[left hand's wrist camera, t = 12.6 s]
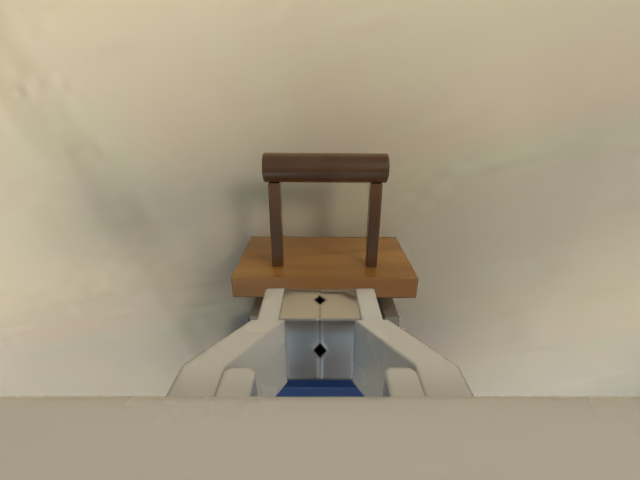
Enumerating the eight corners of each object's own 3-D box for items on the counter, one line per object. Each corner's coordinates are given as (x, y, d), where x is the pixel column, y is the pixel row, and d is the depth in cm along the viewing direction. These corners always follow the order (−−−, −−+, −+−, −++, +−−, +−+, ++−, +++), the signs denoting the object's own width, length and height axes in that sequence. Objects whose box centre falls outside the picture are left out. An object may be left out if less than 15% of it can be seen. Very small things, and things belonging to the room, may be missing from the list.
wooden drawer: (244, 142, 22) (219, 157, 16) (404, 143, 22) (433, 158, 16) (261, 375, 28) (246, 442, 23) (383, 376, 28) (398, 442, 23)
